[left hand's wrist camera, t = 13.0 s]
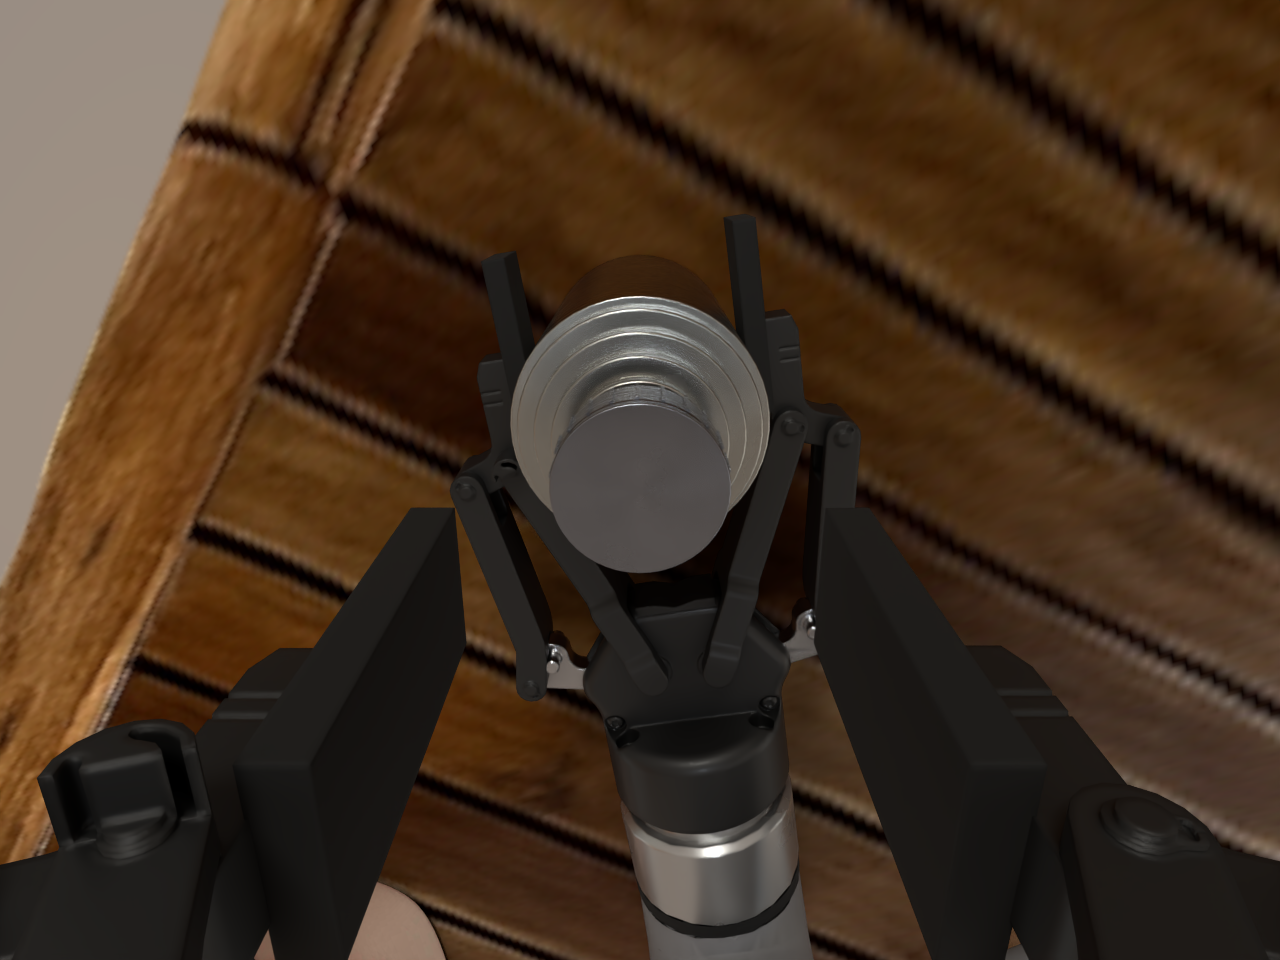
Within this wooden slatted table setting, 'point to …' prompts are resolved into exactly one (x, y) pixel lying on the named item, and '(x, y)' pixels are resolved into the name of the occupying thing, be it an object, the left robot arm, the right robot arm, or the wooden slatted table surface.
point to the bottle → (640, 363)
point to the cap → (640, 479)
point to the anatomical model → (387, 931)
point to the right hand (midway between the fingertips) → (618, 237)
